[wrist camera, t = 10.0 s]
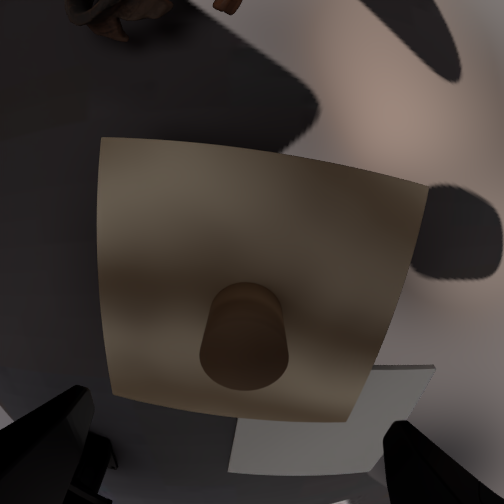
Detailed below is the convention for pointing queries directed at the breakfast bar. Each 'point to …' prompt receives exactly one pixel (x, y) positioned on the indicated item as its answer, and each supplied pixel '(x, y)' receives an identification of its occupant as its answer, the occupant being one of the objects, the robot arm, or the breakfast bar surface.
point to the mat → (332, 430)
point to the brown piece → (125, 13)
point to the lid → (247, 276)
